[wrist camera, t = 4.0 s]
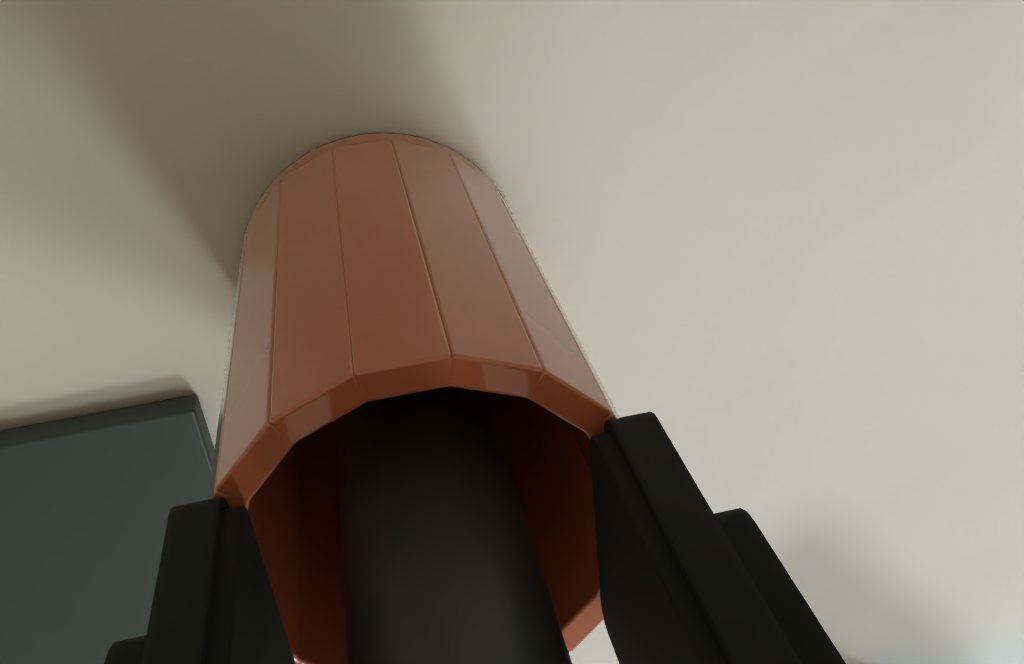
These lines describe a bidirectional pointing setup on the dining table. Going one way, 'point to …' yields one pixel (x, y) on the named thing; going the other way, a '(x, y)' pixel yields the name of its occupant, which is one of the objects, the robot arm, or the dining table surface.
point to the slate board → (91, 525)
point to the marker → (437, 538)
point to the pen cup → (397, 363)
